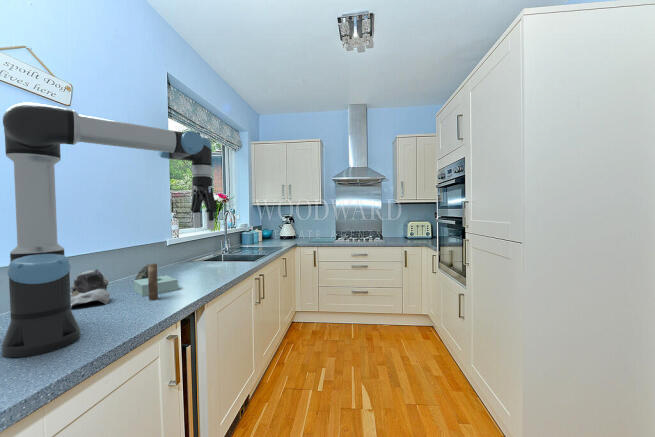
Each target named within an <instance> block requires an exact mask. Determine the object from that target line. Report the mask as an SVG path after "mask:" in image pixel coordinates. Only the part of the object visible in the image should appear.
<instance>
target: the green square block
mask: <svg viewBox="0 0 655 437" xmlns="http://www.w3.org/2000/svg"><path fill="white" fill-rule="evenodd" d="M157 280H158V294H162V293H168V292H173V291H177V290H179V283H178V282H179V281H178V280H179V279H177V278H174V277H172V276H169V275H167V274H166V275H160V276H157ZM133 283H134V284H133V291H134V292H135V293H137V294H138V293H139V294H138V295H140V296H141V297H145V296H149V288H148V278H146V279H139V280H135V279H133Z"/></svg>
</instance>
